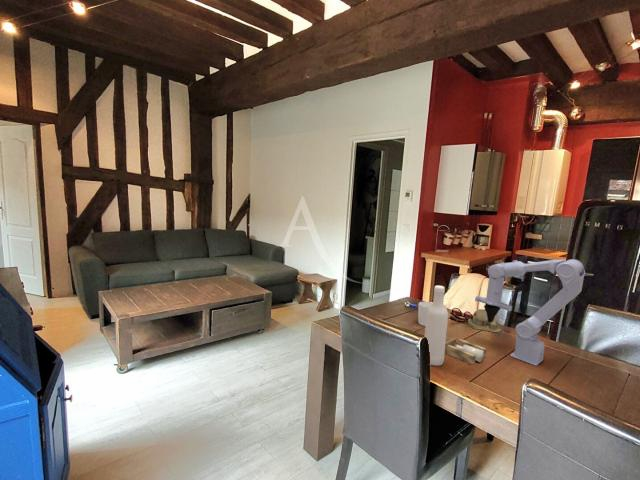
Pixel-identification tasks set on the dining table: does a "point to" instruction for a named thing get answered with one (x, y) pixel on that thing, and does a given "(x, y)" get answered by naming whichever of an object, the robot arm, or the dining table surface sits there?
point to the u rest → (461, 353)
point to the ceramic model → (483, 321)
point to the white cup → (422, 312)
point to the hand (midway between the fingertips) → (490, 321)
